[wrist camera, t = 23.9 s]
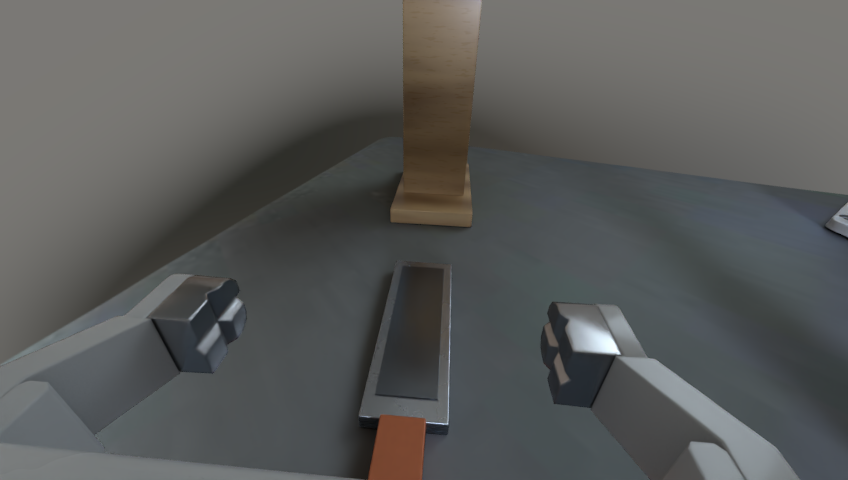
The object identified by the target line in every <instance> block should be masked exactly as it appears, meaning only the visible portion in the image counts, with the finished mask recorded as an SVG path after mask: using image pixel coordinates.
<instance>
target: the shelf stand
mask: <svg viewBox="0 0 848 480" xmlns="http://www.w3.org/2000/svg"><path fill="white" fill-rule="evenodd" d="M481 7H482V0H403V110H404V111H403V114H404V115H403V116H404V117H403V121H404V122H403V126H404V127H403V128H404V130H403V131H404V132H403V134H404V135H403V140H404V172H403V175H402V178H401V180H400V183H399V186H398V189H397V192H396V195H395V197H394V200H393V203H392V206H391V209H390V217H391V222H396V223H412V224H428V225H444V226H460V227H471V223H472V202H471V189H470V176H469V164H467V155H468V144H469V133H470V123H471V113H472V102H473V91H474V80H475V71H476V60H477V49H478V39H479V28H480V18H481Z"/></svg>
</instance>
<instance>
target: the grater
mask: <svg viewBox="0 0 848 480" xmlns="http://www.w3.org/2000/svg"><path fill="white" fill-rule="evenodd" d="M451 283H452V265H451V264H438V263H423V262H409V261H396V265H395V269H394V273H393V277H392V281H391V285H390V289H389V293H388V297H387V301H386V305H385V309H384V313H383V317H382V321H381V326H380V330H379V334H378V338H377V342H376V346H375V350H374V354H373V358H372V362H371V366H370V370H369V374H368V378H367V382H366V386H365V390H364V394H363V398H362V402H361V407H360V411H359V415H358V417H359V425H360V427H363V428H374V429H377V433H376V438H375V444H374V449H373V454H372V459H371V464H370V470H369V475H368V480H422V473H423V459H424V446H425V433H428V434H439V435H447V434H448V428H449V396H450V339H451Z"/></svg>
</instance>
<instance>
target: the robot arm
mask: <svg viewBox="0 0 848 480" xmlns="http://www.w3.org/2000/svg"><path fill="white" fill-rule="evenodd" d="M825 226H826V227H827V228H829V229H831V230H833V231H835V232H837V233H839V234H841V235H844V236H846V237H848V202H847V203H846V204H845V205H844V206H843V207H842V208H841V209H840V210H839V211H838V212H837V213H836V214H835V215H834V216H833V217H832V218H831V219H830V220H829V221H828V222H827V223H826V224H825ZM239 291H240V290H239V287H238V284H237V282H236V280H233V279H231V278H222V277H212V276H201V275H187V274H174V275H170V276H169V277H168V278H166V279H165V280H164V281H163V282H162V283H161V284H160V285H158V286H157V287H156V288H155V289H154V290H153V291H152V292H150V293H149V294H148V295H147V296H146V297H145V298H144V299H143V300H141V301H140V302H139V303H138V304H137V305H136V306H135V307H133V308H132V309H131V310H130V311H129V312H128V313H127V314H125V315H124V316H116V317H114V318H111V319H109V320H107V321H104V322H102V323H100V324H97V325H95V326H93V327H90V328H88V329H86V330H83V331H81V332H79V333H77V334H74V335H72V336H70V337H67V338H65V339H63V340H60V341H58V342H56V343H53V344H51V345H49V346H46V347H44V348H42V349H39V350H37V351H35V352H32V353H30V354H28V355H26V356H23V357H21V358H19V359H16V360H14V361H12V362H9V363H7V364H5V365H2V366H0V480H363V479H354V478H344V477H334V476H324V475H314V474H305V473H295V472H285V471H275V470H265V469H256V468H246V467H236V466H226V465H216V464H207V463H197V462H187V461H177V460H168V459H158V458H148V457H138V456H128V455H119V454H109V453H105V447H104V446H103V445H102V444H101V443H100V441H99V440H98V439H97V438H96V437H95V436H94V435H95V434H96V433H97V432H99V431H100V430H102V429H103V428H104V427H106V426H107V425H109V424H110V423H111V422H113V421H114V420H116V419H117V418H118V417H120V416H121V415H123V414H124V413H125V412H127V411H128V410H130V409H131V408H132V407H134V406H135V405H137V404H138V403H139V402H141V401H142V400H144V399H145V398H146V397H148V396H149V395H151V394H152V393H153V392H155V391H156V390H158V389H159V388H160V387H162V386H163V385H165V384H166V383H167V382H169V381H170V380H172V379H173V378H174V377H176V376H177V375H179V374H180V372H193V373H210V374H213V373H214V372H215V370H216V369H217V368H218V366H219V365H220V363H221V362H222V360H223V359H224V358H225V356H226V355H227V353H228V347H227V345H228V344H229V343H231V342H233V341H234V340H236V339H238V337H239V336H240V334H241V333H242V331H243V329H244V326H245V323H246V319H247V316H246V308H245V305H244V303H243V302H242V301H241V300H240V299H239V298H238V297H236V296H237V295H238V293H239ZM547 314H548V317H549V321H550V322H549V323H547V324H546V325H545V326H544V327H543V331H542V335H541V354H542V359H543V363H544V364H545V365H546V366H547V367H548V368H549V369H550V373H549V376H548V383H549V387H550V391H551V394H552V398H553V402H554V404H561V405H569V406H578V407H587V408H591V411H592V412H593V413H594V414H595V416H596V417H597V418H598V419H599V420H600V421H601V423H602V424H603V425H604V426H605V427H606V428H607V430H608V431H609V432H610V433H611V434H612V435H613V437H614V438H615V439H616V440H617V441H618V442H619V444H620V445H621V446H622V447H623V448H624V450H625V451H626V452H627V453H628V454H629V455H630V457H631V458H632V459H633V460H634V461H635V462H636V464H637V465H638V466H639V467H640V468H641V469H642V471H643V472H644V473H645V474H646V475H647V476H648V478H649V479H650V480H800V479H799V477H798V476H797V475H796V473H795V472H794V471H793V469H792V468H791V467H790V465H789V464H788V463H787V461H786V460H785V459H784V457H783V456H782V455H781V453H780V452H779V450H778V449H777V448H776V447H775V446H773V445H772V444H771V443H769V442H768V441H767V440H765V439H764V438H763V437H761V436H760V435H758V434H757V433H756V432H754V431H753V430H752V429H750V428H749V427H747V426H746V425H745V424H743V423H742V422H741V421H739V420H738V419H736V418H735V417H734V416H732V415H731V414H730V413H728V412H727V411H726V410H724V409H723V408H721V407H720V406H719V405H717V404H716V403H715V402H713V401H712V400H710V399H709V398H708V397H706V396H705V395H704V394H702V393H701V392H700V391H698V390H697V389H695V388H694V387H693V386H691V385H690V384H689V383H687V382H686V381H684V380H683V379H682V378H680V377H679V376H678V375H676V374H675V373H674V372H672V371H671V370H669V369H668V368H667V367H665V366H664V365H663V364H661V363H660V362H658V361H657V360H656V359H650V358H648V357H647V355H646V354H645V352H644V350H643V348H642V347H641V345H640V343H639V341H638V340H637V338H636V336H635V335H634V333H633V331H632V329H631V328H630V326H629V324H628V322H627V321H626V319H625V317H624V315H623V314H622V312H621V310H620V308H619V307H617V306H616V305H604V304H594V305H593V304H581V303H565V302H552V303H551V305H550V306H549V310H548V313H547Z"/></svg>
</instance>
